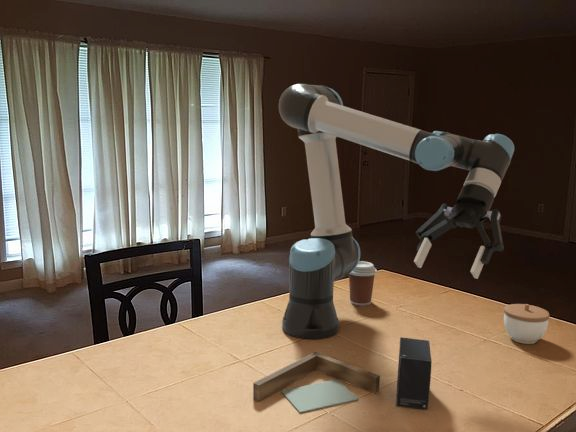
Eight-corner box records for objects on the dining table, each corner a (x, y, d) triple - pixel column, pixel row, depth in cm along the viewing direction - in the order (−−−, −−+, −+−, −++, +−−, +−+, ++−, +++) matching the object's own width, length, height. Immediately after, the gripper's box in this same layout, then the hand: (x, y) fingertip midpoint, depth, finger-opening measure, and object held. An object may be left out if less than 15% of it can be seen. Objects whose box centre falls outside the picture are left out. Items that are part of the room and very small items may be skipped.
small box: (429, 411, 108) (433, 360, 106) (395, 407, 109) (398, 357, 107) (427, 385, 118) (430, 339, 116) (396, 382, 119) (398, 336, 117)
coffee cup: (362, 309, 163) (364, 270, 161) (339, 301, 170) (340, 263, 168) (381, 302, 169) (383, 264, 167) (358, 295, 176) (360, 258, 174)
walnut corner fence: (253, 399, 111) (253, 382, 110) (315, 366, 126) (315, 351, 125) (320, 431, 100) (320, 413, 100) (379, 391, 115) (380, 375, 114)
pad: (281, 391, 114) (281, 390, 114) (336, 380, 119) (336, 379, 119) (299, 413, 106) (299, 411, 106) (358, 400, 111) (358, 398, 111)
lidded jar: (509, 328, 150) (512, 295, 149) (551, 338, 144) (555, 304, 142) (495, 339, 142) (498, 305, 141) (539, 351, 136) (543, 315, 134)
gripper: (537, 206, 121) (505, 289, 114) (436, 198, 139) (402, 269, 131) (528, 185, 117) (494, 270, 109) (424, 179, 134) (389, 252, 127)
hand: (444, 269), depth 120 cm, fingers open, 13 cm apart
